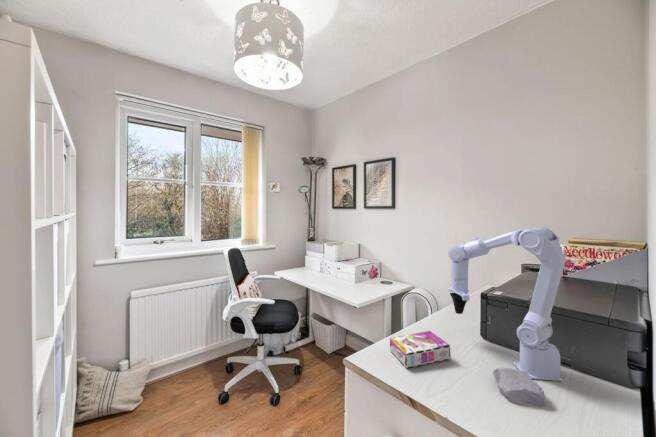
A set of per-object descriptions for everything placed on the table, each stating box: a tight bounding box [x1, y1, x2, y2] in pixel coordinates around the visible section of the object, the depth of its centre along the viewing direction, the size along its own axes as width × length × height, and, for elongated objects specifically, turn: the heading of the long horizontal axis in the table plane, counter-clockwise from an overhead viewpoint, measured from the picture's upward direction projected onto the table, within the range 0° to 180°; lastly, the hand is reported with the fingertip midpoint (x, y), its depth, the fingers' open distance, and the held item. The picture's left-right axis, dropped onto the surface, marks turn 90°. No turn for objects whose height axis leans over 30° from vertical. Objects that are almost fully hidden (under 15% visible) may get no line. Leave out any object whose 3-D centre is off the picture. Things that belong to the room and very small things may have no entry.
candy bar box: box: [389, 330, 451, 369], centre depth 93 cm, size 11×5×16 cm
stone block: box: [492, 367, 546, 407], centre depth 76 cm, size 12×5×10 cm
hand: (458, 313), depth 104 cm, fingers closed
